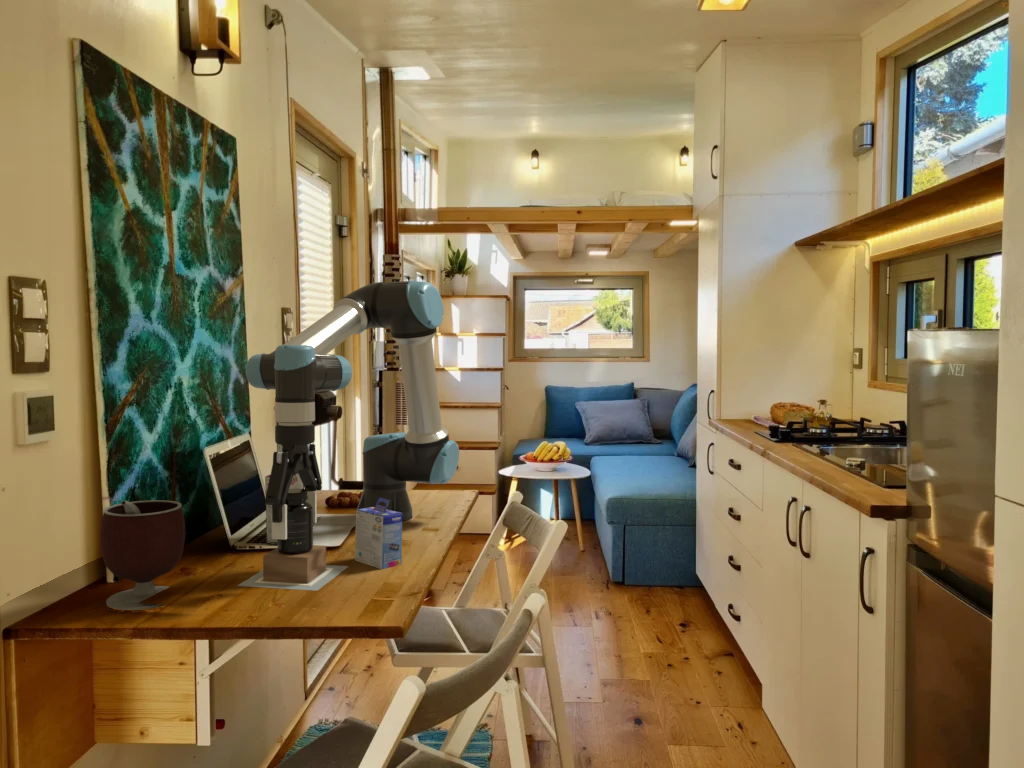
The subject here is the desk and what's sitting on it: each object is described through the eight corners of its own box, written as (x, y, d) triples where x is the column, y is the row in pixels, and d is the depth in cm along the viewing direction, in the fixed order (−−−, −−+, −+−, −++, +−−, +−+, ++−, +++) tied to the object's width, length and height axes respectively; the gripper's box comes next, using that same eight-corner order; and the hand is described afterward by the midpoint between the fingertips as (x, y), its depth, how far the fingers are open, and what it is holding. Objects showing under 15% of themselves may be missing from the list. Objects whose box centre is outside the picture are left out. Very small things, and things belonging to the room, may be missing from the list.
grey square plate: (276, 567, 158) (276, 561, 157) (348, 571, 155) (348, 565, 155) (237, 591, 142) (237, 585, 142) (317, 596, 139) (317, 590, 139)
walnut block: (284, 567, 154) (284, 543, 153) (326, 570, 152) (326, 545, 152) (263, 581, 145) (263, 555, 144) (307, 583, 143) (307, 557, 143)
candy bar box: (286, 532, 188) (286, 467, 187) (305, 534, 187) (305, 468, 186) (264, 544, 177) (264, 475, 176) (284, 545, 176) (284, 476, 175)
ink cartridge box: (403, 569, 157) (403, 501, 156) (382, 575, 153) (382, 505, 152) (374, 560, 164) (374, 495, 163) (353, 565, 160) (353, 498, 159)
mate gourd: (120, 588, 143) (119, 484, 142) (196, 587, 144) (195, 484, 143) (82, 617, 128) (80, 501, 127) (166, 615, 129) (165, 500, 128)
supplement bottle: (275, 547, 150) (275, 488, 149) (310, 544, 153) (310, 486, 152) (279, 556, 144) (278, 494, 143) (315, 553, 146) (315, 492, 146)
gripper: (304, 417, 160) (304, 515, 161) (245, 429, 135) (245, 545, 136) (337, 418, 159) (337, 517, 160) (284, 430, 134) (284, 547, 135)
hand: (295, 530), depth 148 cm, fingers open, 13 cm apart
